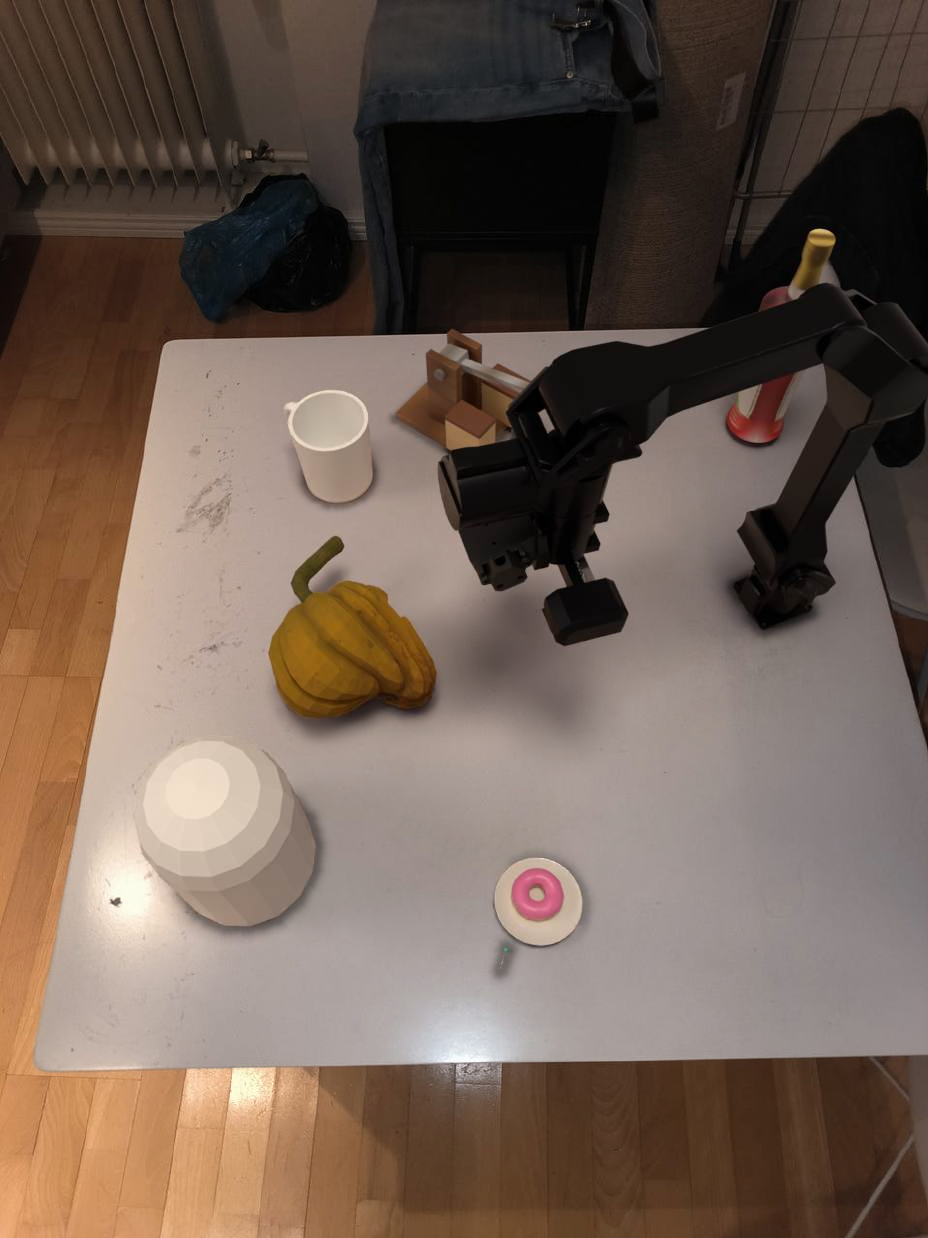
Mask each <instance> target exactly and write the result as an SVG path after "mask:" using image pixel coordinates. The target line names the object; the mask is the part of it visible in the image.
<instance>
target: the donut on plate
mask: <svg viewBox="0 0 928 1238" xmlns="http://www.w3.org/2000/svg"><path fill="white" fill-rule="evenodd" d="M494 889H495V890H494V897H493V900H494V901H493V902H494V909H495V913H496V915H497V918H498V920H499V922H500V924H501V925H502V927H503V928H504V929H505V930H506V931H507V933H509V934H510V935H511V936H513V938H514V939H517V940H518V941H521V942H522V943H525V944H528V945H532V946H549V945H553V944H556V943H560V942H561V941H563V940H565V939H566V938H567V937H568V936H569V935H570V934H572V933H573V931H574V930H575V929H576V927H577V926H578V924H579V923H580V919H581V917H582V913H583V895H582V891H581V888H580V886H579V883H578V882H577V880H576V878H575V877H574V876H573V874H571V872H570V871H569V870H568V869H567V868H566V867H564V866H563V865H562V864H560V863H558V862H556V861H555V860H551V859H548V858H545V857H527V858H524V859H521V860H518V861H516V862H514V863H513V864H511V865H509V867H507V868H506V869H505V870H504V872H503V873H502V874H501V875H500V877H499V879H498V881H497V883H496V886H495V888H494ZM503 950H504V952H508V951H509V949H508V947H504V949H503ZM504 958H505V955H503V958H502V961H501V964H503V961H504ZM498 969H500V970H501V967H499V968H498Z"/></svg>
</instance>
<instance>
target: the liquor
mask: <svg viewBox="0 0 928 1238" xmlns="http://www.w3.org/2000/svg"><path fill="white" fill-rule="evenodd" d="M836 241H837V240H836V236H835V234H834V233H833V232H831V231H830V230H827V229H824V228H815V229H813V230H811V231H809V233H808V235H807V237H806V241H805V243H804V246H803V249H802V256H801V261H800V263H799V266H798V268H797V269H796V272H795V274H794V275H793V277H792V280H791V283H790V284H789V285H787V286H786V285H785V286H780V287H776V288H774V289H771V290H770V291H768V292H767V293H766V294H765V296H763V298H762V300H761V303H760V306H759V309H758V312H759V311H762V310H765V309H768V308H771V307H774V306H777V305H780V304H783V303H786V302H789V301H792V300H795V299H798V297H799V296H800V295H801V294H802V293H804V292H805V291H806V290H807V289H809V288H811V287H813V286H815V285H817V284H820V279H821V275H822V271H823V269H824V265H825V264H826V263H827V261H828V260H829V258H830V256H831V254H832V251H833V248H834V246H835V243H836ZM806 371H807V369H805V370H802V371H799V372H796V373H793V374H790V375H787V376H784V377H781V378H778V379H775V380H772V381H769V382H766V383H763V384H761V385H758V386H755V387H752V388H749V389H746V390H743V391H740V392H737V393H736V396H735V400H734V404H733V405H731V406H730V407H729V409H728V411H727V414H726V423H727V426H728V428H729V430H730V431H731V432H732V433H733V434H734V435H735V436H737V437H738V438H739V439H742V440H744V441H746V442H750V443H757V444H759V443H760V444H761V443H767V442H770V441H773V440H775V439H777V438H778V437H779V436H780V435H781V434H782V432H783V429H784V423H785V422H784V417H785V414H786V412H787V411H788V408H789V406H790V403H791V402H792V399H793V398H794V394H795V393H796V391H797V388H798V386H799V384H800V382H801V380H802V378H803V376H804V374H805V372H806Z"/></svg>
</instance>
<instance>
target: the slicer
mask: <svg viewBox="0 0 928 1238" xmlns="http://www.w3.org/2000/svg"><path fill="white" fill-rule="evenodd" d="M446 344H447V345H448V344H452V345H455V346H457V347H460V348H462V349H465V350H468V355H469V360H472V361H475V362H477V363H480V364H482V365H483V344H481V343H480V342H478V341H476V340H474V339H472V338H471V337H469V336H467V335H465V334H463V333H461V332H459V331H458V330H456V329H454V328H451V329H449V331H448V332H446ZM447 345H446V346H447ZM439 353H440V352H437V351H435V350H434V349H432V348H430V349H429V350H428V351H426V353H425V364H426V365H425V367H426V382H425V384H423V386H421V387H420V389H418V390H417V391H416V392H415V393H414V394H413V395H412V396H411V397H410V398H409V399H408V400H407V401H406V402H404V404H403V405H402V406H401V407H400V408H399V409H398V410H396V412H395V418H396V420H397V421H399V422H400V423H402V424H404V425H406V426H408V427H409V428H411V429H413V430H414V431H416V432H418V433H420V434H421V435H423V436H425V437H427V438H428V439H430V440H431V441H433V442H435V443H437V444H438V445H440V446H441V447H444V448H445V449H447V450H449V449H448V448H446V425H445V416H446V415H447V414H448V413H449V412H450V411H451V410H452V409H453V408H454V407H455V406H456V405H457V404H458V403H459V402H460V401H461V400H463V401H465V402H467V403H468V404H470V405H472V406H474V407H476V408H477V409H479V410H481V411H482V378H480V377H478V376H475V375H472V374H470V373H467V372H465V373H464V374H463V375H462V376H461V365H459V364H458V363H456V362H454V361H452V360H450V359H448V358H447V357H445V356H443V355H441V354H439ZM495 423H496V426H495V441H496V440H497V439H498V437H500V435H502V434H503V432H504V431H505V430H506V429H507V428H508V427H509V426H507V425H505V424H504V423H502V422H500V421H498V420H497V419H496V422H495Z"/></svg>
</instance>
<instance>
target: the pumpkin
mask: <svg viewBox="0 0 928 1238" xmlns="http://www.w3.org/2000/svg"><path fill="white" fill-rule="evenodd" d="M344 549H345V544H344V542H343V540H342V538H341V537H339V536H338V535H333V536H331V537H329V539H328V540H327V541H326V542H324V544H322V545H321V546H320V547H319V549H317V550H316V551H315V552H314V553H313V554H311V555H310V556H309V557H307V559H306V560H305V561H304V562H303V563H302V564H301V565H300V566H299V567H297V569H296V570H295V571H294V574H293V577H292V578H291V581H290V585H291V588H292V591H293V593H294V595H295V596H296V597H297V598H298V600H299V601H300V603H298V604H296V605H294V606H293V607H292V608H290V609H289V610H288V612H287V613H286V615H285V617H284V618H283V620H282V622H281V623H280V625H279V626H278V628H276V630H275V632H274V633H273V635H272V636H271V640H270V644H269V648H268V658H269V661H270V666H271V670H272V674H273V676H274V678H275V679H274V680H275V685H276V690H277V692H278V694H279V695H280V697H281V698H282V700H283V702H284V704H285V705H286V707H287V708H289V709H290V710H291V711H293V712H294V713H296V714H298V715H299V716H301V717H302V718H309V719H314V720H321V719H329V718H330V719H331V718H337V717H341V716H346V715H347V714H348V713H350V712H352V711H353V710H355V709H357V708H358V707H360V706H361V705H362V704H365V702H368V701H371V700H372V699H374V700H381V699H384V702H385V704H387V705H389V706H392V707H393V706H397V707H398V708H400V709H402V710H408V709H412V708H417V707H422V706H424V705H425V704H426V703H427V702H428V701H430V700H431V699H432V697H433V694H434V691H435V690H436V681H437V674H438V670H437V668H436V665H435V661H434V659H433V657H432V655H431V654H430V652H429V650H428V648H427V647H426V645H425V643H424V641H423V640H422V638H421V637H420V636H419V633H418V632H417V630H416V629H415V627H414V625H413V624H412V621H410V620H409V618H407V616H405V615H402V616H400V615H399V614H398V613H397V611H396V610H395V608H393V607H392V605H391V604H390V603H389V596H388V595H389V594H388V593H387V592H386V591H385V590H384V589H382V588H381V587H379V586H375V585H370V584H364V583H362V582H357V581H352V580H342V581H339V582H337V583H336V584H334V585H332V587H330V588H329V589H328V590H327V591H326V592H323V591H315V592H313V591H312V590H311V589H310V588H309V584H310V581H311V580H312V579H313V578H314V577H315V576H316V575H317V574H319V572H320V571H321V570H322V569H323V568H324V567H325V566H326V565H327V564H328V563H329V562H330V561H331V560H332V559H333V558H335V557H336V556H338V555H339V554H341V553H342V552H343V551H344Z"/></svg>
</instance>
